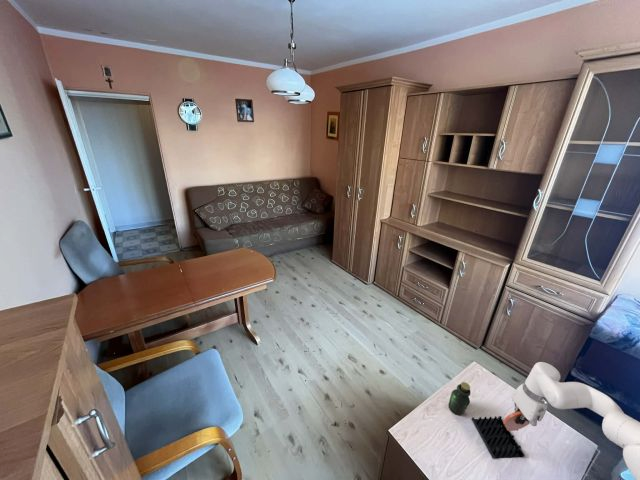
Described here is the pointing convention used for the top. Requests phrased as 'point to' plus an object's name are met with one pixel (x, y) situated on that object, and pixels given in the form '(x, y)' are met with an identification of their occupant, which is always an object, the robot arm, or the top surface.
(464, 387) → the potion bottle
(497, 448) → the rack
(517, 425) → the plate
